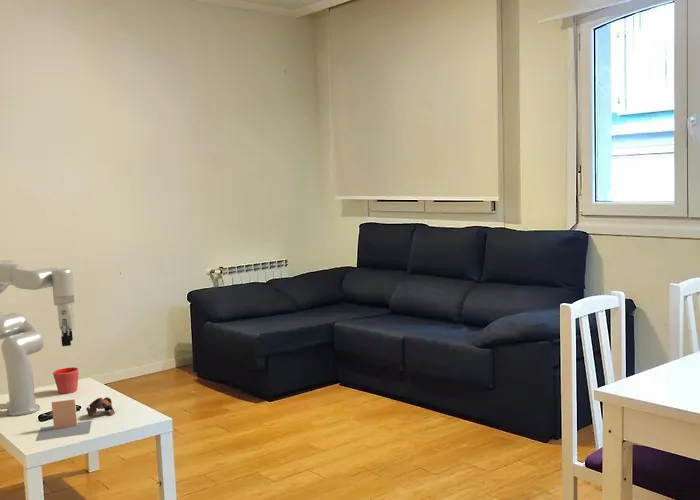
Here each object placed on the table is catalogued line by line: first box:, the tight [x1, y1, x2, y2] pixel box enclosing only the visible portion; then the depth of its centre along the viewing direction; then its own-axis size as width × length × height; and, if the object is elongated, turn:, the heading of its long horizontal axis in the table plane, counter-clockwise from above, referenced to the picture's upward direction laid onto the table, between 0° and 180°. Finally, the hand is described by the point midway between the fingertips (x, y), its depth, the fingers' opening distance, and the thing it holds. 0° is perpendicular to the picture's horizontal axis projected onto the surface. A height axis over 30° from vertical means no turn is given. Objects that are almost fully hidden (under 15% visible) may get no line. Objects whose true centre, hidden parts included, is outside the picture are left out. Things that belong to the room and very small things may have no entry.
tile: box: [51, 397, 78, 429], centre depth 276 cm, size 8×2×10 cm, turn 106°
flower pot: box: [52, 366, 79, 395], centre depth 329 cm, size 11×11×10 cm
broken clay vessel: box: [85, 396, 116, 416], centre depth 290 cm, size 12×10×8 cm
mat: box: [35, 420, 92, 442], centre depth 272 cm, size 18×16×1 cm
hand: (67, 343), depth 291 cm, fingers open, 9 cm apart
